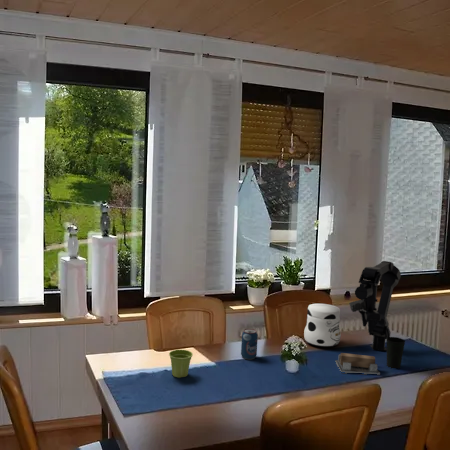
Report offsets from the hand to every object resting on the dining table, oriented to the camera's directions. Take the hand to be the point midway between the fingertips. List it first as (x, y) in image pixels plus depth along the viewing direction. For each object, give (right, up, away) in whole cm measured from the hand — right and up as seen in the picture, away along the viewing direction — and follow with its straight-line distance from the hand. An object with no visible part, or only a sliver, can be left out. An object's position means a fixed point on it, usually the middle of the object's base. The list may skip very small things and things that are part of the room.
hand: (366, 329), depth 230 cm
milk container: (-17, -11, +17) cm, 27 cm away
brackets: (-8, -14, -13) cm, 20 cm away
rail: (-8, -13, -13) cm, 19 cm away
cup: (+9, -15, -8) cm, 19 cm away
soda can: (-54, -11, -5) cm, 55 cm away
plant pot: (-82, -12, -28) cm, 87 cm away
